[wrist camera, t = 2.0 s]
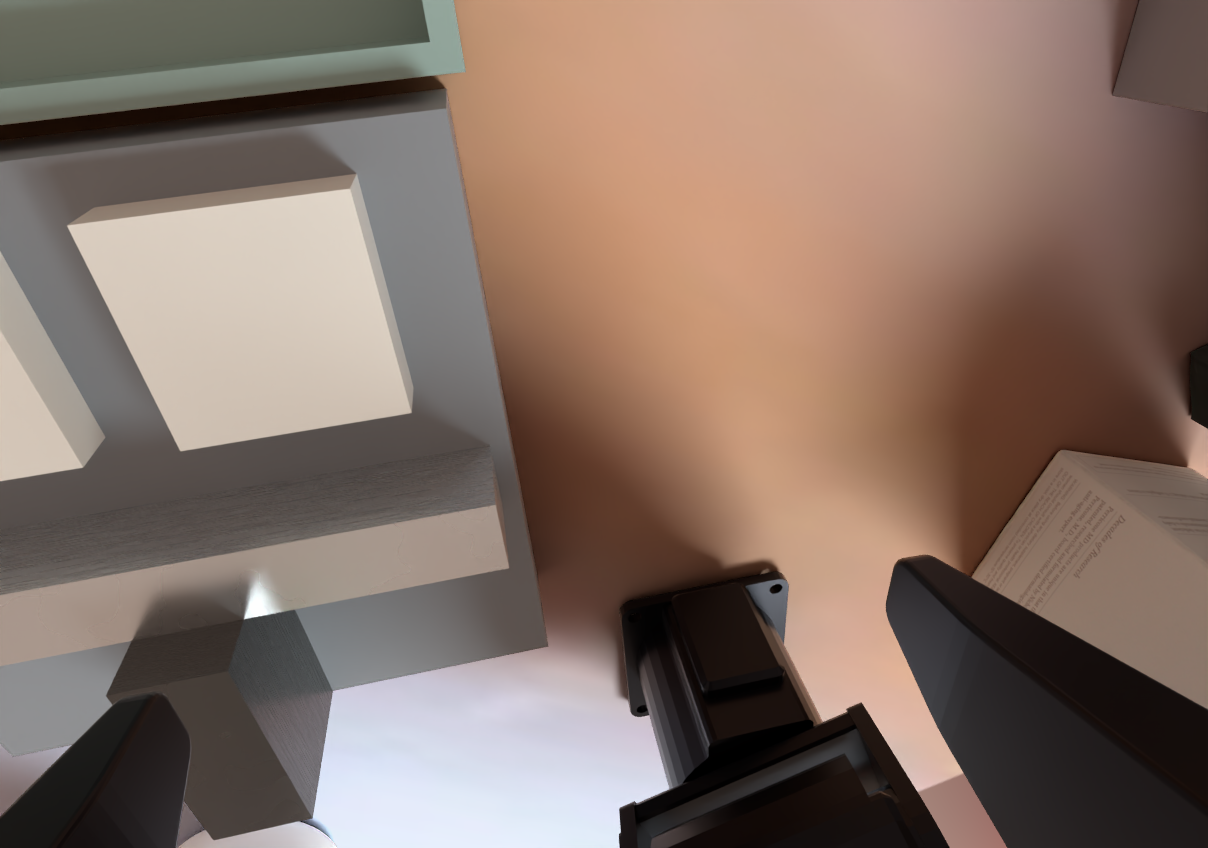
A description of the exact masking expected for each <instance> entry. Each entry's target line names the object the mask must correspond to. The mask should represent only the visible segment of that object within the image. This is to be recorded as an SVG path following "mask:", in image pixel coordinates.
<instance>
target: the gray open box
mask: <svg viewBox="0 0 1208 848" xmlns="http://www.w3.org/2000/svg"><path fill="white" fill-rule="evenodd" d="M1113 96H1118V97H1124V98H1129V99H1135V100H1140V101H1146V102H1151V103H1157V104H1162V105H1168V106H1174V107H1179V108H1185V109H1190V110H1196V111H1201V112H1207V113H1208V0H1139V4H1138V7H1137V11H1136V14H1135V18H1134V21H1133V25H1132V28H1131V32H1130V35H1129V39H1128V43H1127V46H1126V50H1125V53H1124V57H1123V60H1122V64H1121V67H1120V71H1119V74H1118V78H1117V81H1116V85H1115V88H1114V92H1113Z"/></svg>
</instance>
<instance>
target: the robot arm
mask: <svg viewBox="0 0 1208 848" xmlns="http://www.w3.org/2000/svg"><path fill="white" fill-rule="evenodd" d="M773 585H774V586H773ZM788 588H789V586H788V582H787V580H786V579H785V577H784V575H783V574H782V573H780V572H771V573H766V574H761V575H756V576H751V577H746V578H741V579H736V580H731V581H726V582H721V583H716V584H711V585H706V586H701V587H696V588H691V589H686V590H681V591H676V592H671V593H666V594H661V595H657V596H652V597H647V598H642V599H637V600H632V601H629V602H626V603H625V604H623V605H622V607H621V608H620V612H619V614H620V624H621V634H622V643H623V653H624V663H625V673H626V682H627V692H628V702H629V707H630V711H631V713H632V715H634V716H637V717H642V716H647V715H649V716H650V719H651V723H652V727H653V730H654V734H655V738H656V741H657V745H658V749H659V752H660V756H661V760H662V763H663V767H664V770H665V774H666V778H667V781H668V785H669V790H667V791H665V792H662V793H660V794H658V795H655V796H653V797H651V798H649V799H646V800H644V801H642V802H639V803H636V802H635V801H634V802H632V803H630V804H627V805H625V806H623V807H621V808H620V809H619V812H620V825H621V833H620V834H619V844H620V848H949V846H948V844H947V842H946V840H945V838H944V837H943V835H942V833H941V831H940V829H939V828H938V826H937V824H936V822H935V821H934V819H933V817H932V815H931V814H930V812H929V810H928V809H927V807H926V806H925V804H924V802H923V800H922V799H921V797H920V795H919V794H918V792H917V791H916V789H915V787H914V786H913V784H912V783H911V781H910V779H909V778H908V776H907V774H906V773H905V771H904V770H903V768H902V766H901V765H900V763H899V762H898V760H897V758H896V757H895V755H894V754H893V752H892V750H891V749H890V747H889V746H888V744H887V742H886V741H885V739H884V738H883V736H882V734H881V733H880V731H879V730H878V728H877V726H876V725H875V723H874V722H873V720H872V718H871V717H870V715H869V714H868V712H867V710H866V709H865V707H864V706H863V704H862V703H859V704H856V705H854V706H852V707H849V708H847V709H846V710H847V712H846V713H843V714H841V715H839V716H836V717H834V718H832V719H830V720H827V721H825V722H823V721H822V719H821V717H820V715H819V713H818V711H817V709H816V707H815V705H814V703H813V702H812V700H811V698H810V696H809V694H808V692H807V690H806V688H805V686H804V684H803V682H802V680H801V678H800V676H799V674H798V672H797V670H796V668H795V666H794V664H793V662H792V660H791V658H790V656H789V654H788V652H787V650H786V648H785V646H784V635H785V623H786V611H787V600H788ZM886 612H887V617H888V620H889V623H890V625H891V627H892V629H893V632H894V634H895V636H896V638H897V640H898V642H899V645H900V647H901V649H902V651H903V653H904V656H905V658H906V660H907V662H908V664H909V667H910V669H911V671H912V673H913V675H914V678H915V680H916V682H917V684H918V686H919V689H920V691H921V693H922V695H923V697H924V700H925V702H926V704H927V706H928V708H929V710H930V713H931V715H932V717H933V719H934V721H935V723H936V725H937V727H938V729H939V731H940V733H941V734H942V736H943V738H944V740H945V742H946V743H947V745H948V747H949V749H950V750H951V752H952V754H953V755H954V757H955V759H956V761H957V762H958V764H959V766H960V767H961V769H962V771H963V773H964V774H965V776H966V778H967V779H968V781H969V783H970V784H971V786H972V788H973V790H974V791H975V793H976V795H977V797H978V798H979V800H980V801H981V803H982V805H983V807H984V808H985V810H986V812H987V814H988V815H989V817H990V819H991V820H992V822H993V823H994V826H995V827H996V829H997V831H998V832H999V834H1000V836H1001V837H1002V839H1003V841H1004V843H1005V844H1006V846H1007V848H1208V709H1207V708H1205V707H1203V706H1201V705H1199V704H1198V703H1196V702H1194V701H1192V700H1190V699H1189V698H1187V697H1185V696H1183V695H1181V694H1180V693H1178V692H1176V691H1174V690H1172V689H1171V688H1169V687H1167V686H1165V685H1163V684H1162V683H1160V682H1158V681H1156V680H1154V679H1153V678H1151V677H1149V676H1147V675H1145V674H1144V673H1142V672H1140V671H1138V670H1136V669H1135V668H1133V667H1131V666H1129V665H1128V664H1126V663H1124V662H1122V661H1120V660H1119V659H1117V658H1115V657H1113V656H1111V655H1110V654H1108V653H1106V652H1104V651H1102V650H1101V649H1099V648H1097V647H1095V646H1093V645H1092V644H1090V643H1088V642H1086V641H1084V640H1083V639H1081V638H1079V637H1077V636H1075V635H1074V634H1072V633H1070V632H1068V631H1066V630H1065V629H1063V628H1061V627H1059V626H1057V625H1056V624H1054V623H1052V622H1050V621H1048V620H1047V619H1045V618H1043V617H1041V616H1039V615H1038V614H1036V613H1034V612H1032V611H1030V610H1029V609H1027V608H1025V607H1023V606H1021V605H1020V604H1018V603H1016V602H1014V601H1012V600H1011V599H1009V598H1007V597H1005V596H1003V595H1002V594H1000V593H998V592H996V591H994V590H993V589H991V588H989V587H987V586H985V585H984V584H982V583H980V582H978V581H976V580H975V579H973V578H971V577H969V576H967V575H966V574H964V573H962V572H960V571H959V570H957V569H955V568H953V567H951V566H950V565H948V564H946V563H944V562H942V561H941V560H939V559H937V558H935V557H933V556H930V555H918V556H913V557H907V558H902V559H899V560H898V561H897V562H896V564H895V565H894V569H893V573H892V578H891V582H890V586H889V591H888V595H887V600H886ZM633 613H636V614H633ZM631 614H633V615H631ZM190 757H191V740H190V736H189V733H188V731H187V729H186V727H185V726H184V724H183V722H182V721H181V719H180V717H179V716H178V714H177V712H176V711H175V709H174V708H173V706H172V704H171V703H170V701H169V699H168V698H167V696H166V695H165V694H163V693H161V692H159V691H153V692H147V693H142V694H136V695H131V696H126V697H123V698H121V699H120V700H118V701H117V702H115V703H114V704H113V705H112V706H111V707H110V708H109V709H108V710H107V711H106V712H105V713H104V714H103V715H102V716H101V717H100V718H99V719H98V720H97V721H96V722H95V723H94V724H93V725H92V726H91V727H90V728H89V729H88V730H87V731H86V732H85V733H84V734H83V735H82V736H81V737H80V738H79V739H78V740H77V741H76V742H75V743H74V744H73V745H72V746H71V747H70V748H69V749H68V750H67V751H66V752H65V753H64V754H63V755H62V756H61V757H60V758H59V759H58V760H57V761H56V762H55V763H54V764H53V765H52V766H51V767H50V768H49V769H48V770H47V771H46V772H45V773H44V774H43V775H42V776H40V777H39V778H38V779H37V780H36V781H35V782H34V783H33V784H32V785H31V786H30V787H29V788H28V789H27V790H26V791H25V792H24V793H23V794H22V795H21V796H20V797H19V798H18V799H17V800H16V801H15V802H14V803H13V804H12V805H11V806H10V807H9V808H8V809H7V810H6V811H5V812H4V813H3V814H2V815H1V816H0V848H176V847H177V841H178V834H179V828H180V821H181V815H182V808H183V802H184V795H185V789H186V782H187V776H188V770H189V763H190Z"/></svg>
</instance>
